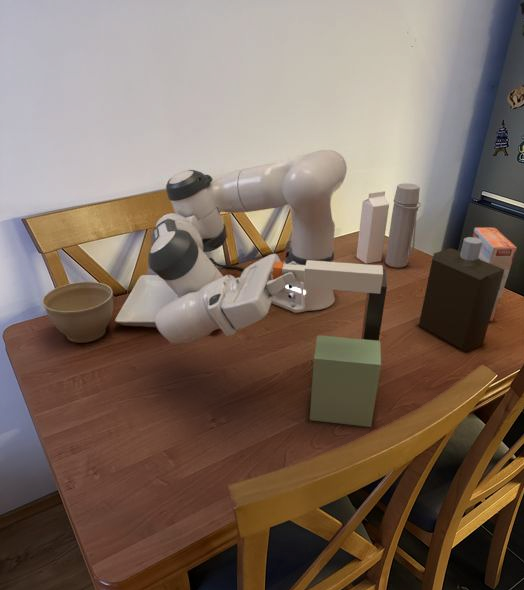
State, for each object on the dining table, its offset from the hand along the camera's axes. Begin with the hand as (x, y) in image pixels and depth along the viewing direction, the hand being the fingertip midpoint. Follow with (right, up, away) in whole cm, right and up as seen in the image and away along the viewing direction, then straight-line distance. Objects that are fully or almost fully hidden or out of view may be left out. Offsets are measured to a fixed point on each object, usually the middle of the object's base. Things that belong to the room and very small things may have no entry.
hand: (295, 270), depth 85 cm
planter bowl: (-50, -10, +39) cm, 65 cm away
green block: (+10, -26, +14) cm, 32 cm away
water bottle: (+38, +14, +73) cm, 84 cm away
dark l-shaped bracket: (+12, -20, +23) cm, 33 cm away
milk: (+30, +16, +78) cm, 85 cm away
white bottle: (+5, -2, 0) cm, 6 cm away
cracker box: (+53, -3, +49) cm, 72 cm away
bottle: (+41, -10, +38) cm, 57 cm away
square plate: (-29, -2, +50) cm, 58 cm away
